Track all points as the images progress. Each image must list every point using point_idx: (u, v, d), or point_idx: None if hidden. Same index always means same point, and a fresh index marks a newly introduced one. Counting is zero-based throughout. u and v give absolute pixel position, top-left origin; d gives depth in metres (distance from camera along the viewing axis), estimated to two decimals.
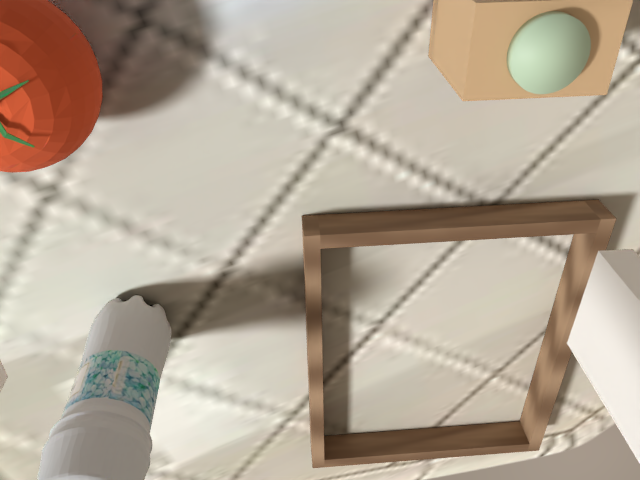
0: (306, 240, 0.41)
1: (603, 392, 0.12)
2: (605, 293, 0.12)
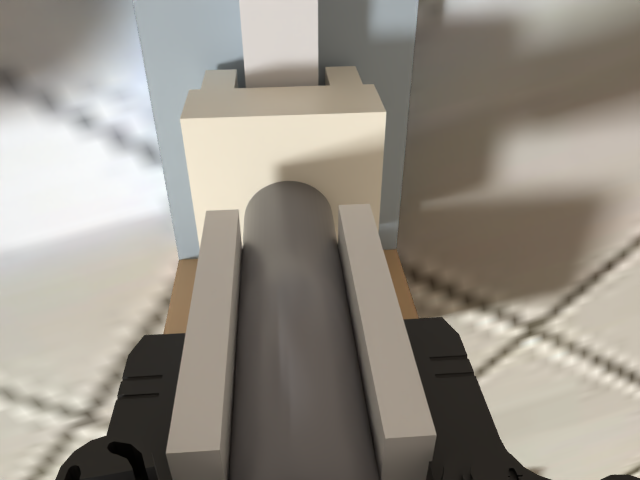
0: None
1: None
2: (341, 242, 0.13)
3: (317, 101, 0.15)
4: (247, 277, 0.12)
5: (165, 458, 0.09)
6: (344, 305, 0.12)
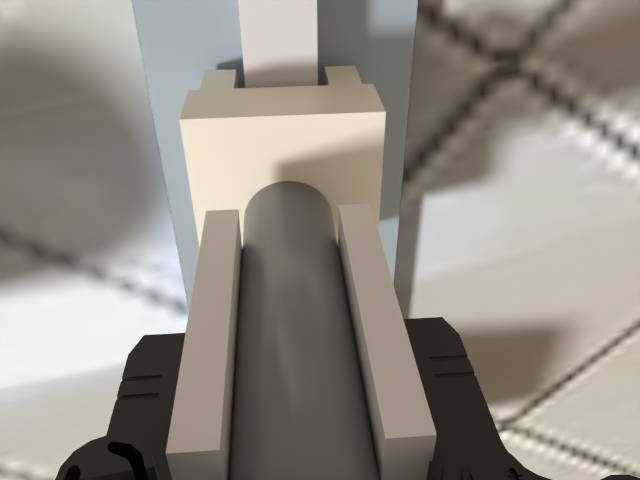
0: None
1: None
2: (341, 242, 0.13)
3: (317, 101, 0.15)
4: (247, 278, 0.12)
5: (165, 458, 0.09)
6: (344, 305, 0.12)
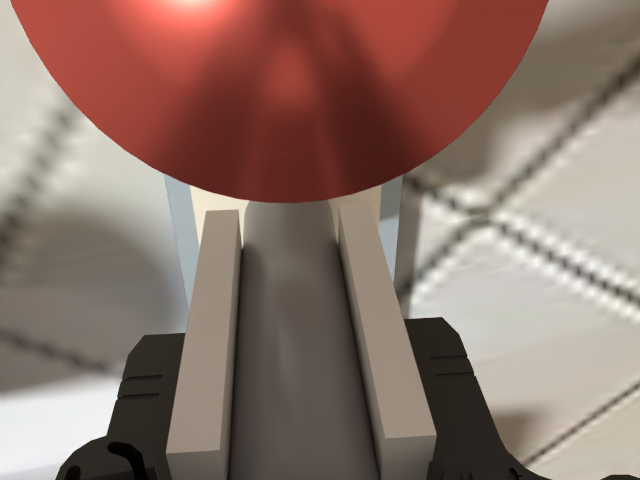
0: None
1: None
2: (341, 242, 0.13)
3: None
4: (248, 277, 0.12)
5: (165, 458, 0.09)
6: (344, 305, 0.12)
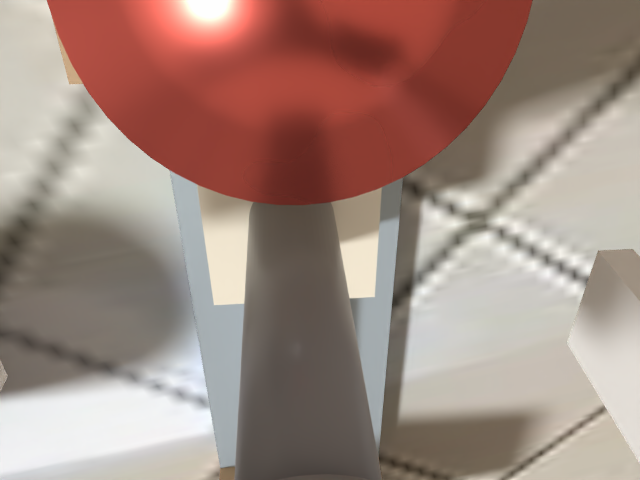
0: None
1: (603, 392, 0.12)
2: (605, 293, 0.12)
3: None
4: (253, 273, 0.13)
5: None
6: (345, 300, 0.12)
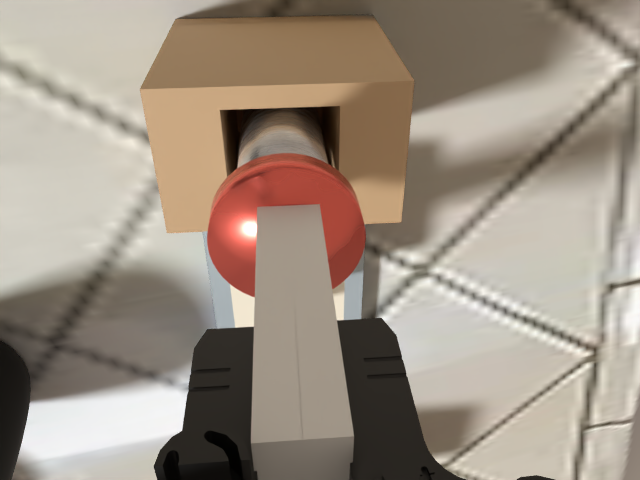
0: None
1: None
2: None
3: None
4: None
5: None
6: None
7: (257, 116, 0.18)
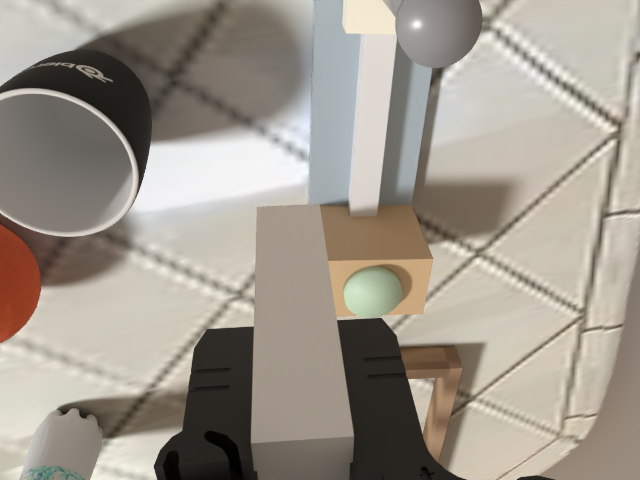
0: None
1: None
2: None
3: None
4: None
5: None
6: None
7: None
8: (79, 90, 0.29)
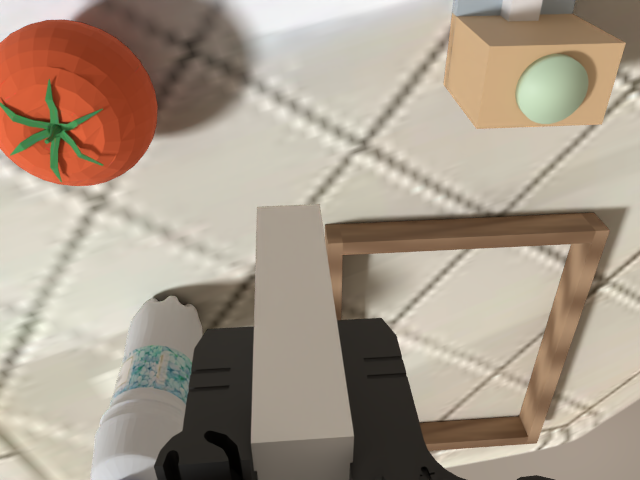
0: (330, 247, 0.46)
1: None
2: None
3: None
4: None
5: None
6: None
7: None
8: None
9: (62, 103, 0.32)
